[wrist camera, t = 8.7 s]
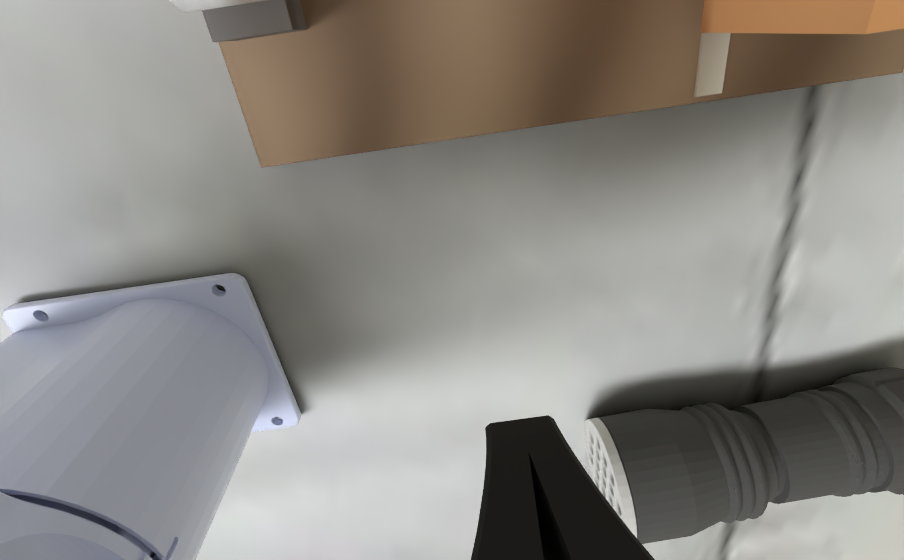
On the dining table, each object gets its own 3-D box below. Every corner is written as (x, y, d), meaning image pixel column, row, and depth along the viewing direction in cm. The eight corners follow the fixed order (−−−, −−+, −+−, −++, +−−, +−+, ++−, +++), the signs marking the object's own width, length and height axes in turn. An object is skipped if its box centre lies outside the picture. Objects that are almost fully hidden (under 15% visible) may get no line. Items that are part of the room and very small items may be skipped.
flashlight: (905, 338, 21) (1042, 425, 17) (874, 419, 24) (985, 514, 19) (582, 396, 22) (625, 496, 17) (586, 468, 25) (625, 573, 20)
